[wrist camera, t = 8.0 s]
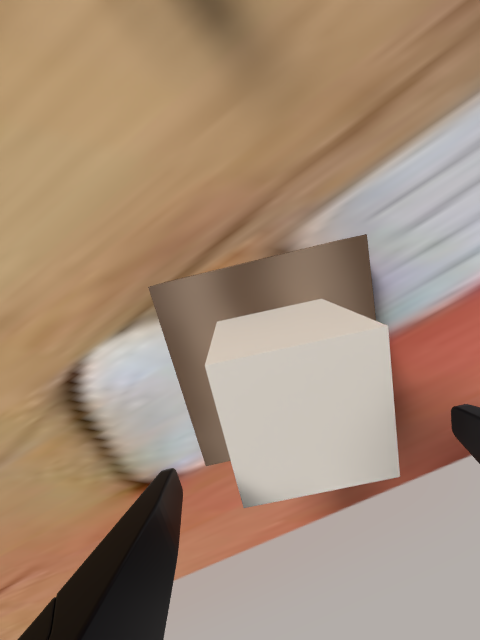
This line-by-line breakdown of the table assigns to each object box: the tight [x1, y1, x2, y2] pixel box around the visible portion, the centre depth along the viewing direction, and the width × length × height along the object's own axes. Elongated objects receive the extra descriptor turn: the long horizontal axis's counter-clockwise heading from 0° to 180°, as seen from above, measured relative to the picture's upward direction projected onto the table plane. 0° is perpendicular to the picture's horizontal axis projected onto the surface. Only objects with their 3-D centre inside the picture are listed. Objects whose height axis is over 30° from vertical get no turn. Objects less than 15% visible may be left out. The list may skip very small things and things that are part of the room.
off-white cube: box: [205, 299, 400, 508], centre depth 11 cm, size 6×6×6 cm
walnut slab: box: [148, 234, 376, 466], centre depth 16 cm, size 12×12×4 cm
